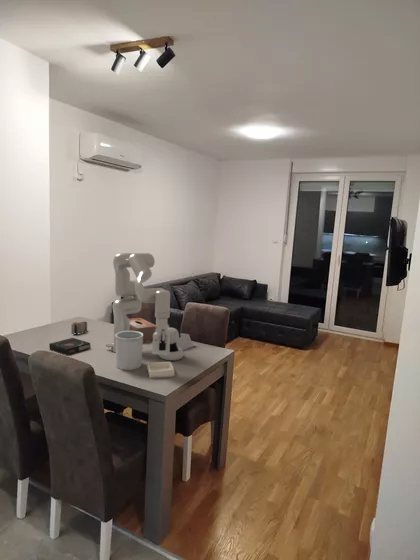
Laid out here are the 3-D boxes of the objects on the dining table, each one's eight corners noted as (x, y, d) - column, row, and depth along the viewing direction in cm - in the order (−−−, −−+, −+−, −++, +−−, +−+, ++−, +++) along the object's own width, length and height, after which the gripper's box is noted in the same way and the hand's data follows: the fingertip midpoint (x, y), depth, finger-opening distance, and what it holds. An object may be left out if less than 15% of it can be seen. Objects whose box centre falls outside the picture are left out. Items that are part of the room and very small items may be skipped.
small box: (169, 351, 195) (170, 332, 194) (167, 355, 190) (168, 335, 189) (154, 350, 196) (155, 331, 195) (152, 354, 191) (152, 334, 189)
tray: (149, 378, 187) (149, 371, 186) (146, 369, 199) (147, 362, 198) (174, 376, 190) (174, 370, 190) (170, 367, 202) (170, 361, 202)
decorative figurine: (188, 358, 219) (190, 325, 216) (168, 363, 209) (170, 329, 206) (173, 351, 229) (174, 320, 227) (153, 356, 219) (154, 323, 217)
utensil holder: (136, 371, 194) (137, 339, 192) (110, 368, 197) (110, 336, 195) (146, 362, 209) (147, 332, 206) (121, 359, 211) (122, 329, 209)
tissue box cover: (121, 333, 264) (121, 319, 262) (139, 330, 272) (140, 317, 271) (137, 343, 243) (137, 328, 242) (156, 340, 252) (157, 325, 250)
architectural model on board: (74, 336, 252) (74, 322, 251) (71, 335, 254) (71, 321, 252) (87, 332, 262) (87, 319, 261) (84, 331, 263) (84, 318, 262)
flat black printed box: (67, 356, 213) (67, 349, 213) (49, 350, 222) (49, 343, 222) (90, 349, 227) (90, 343, 226) (72, 343, 236) (72, 337, 236)
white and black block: (176, 352, 229) (173, 336, 230) (171, 352, 232) (167, 337, 233) (194, 346, 242) (190, 331, 243) (188, 347, 245) (185, 332, 246)
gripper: (153, 310, 198) (152, 343, 200) (157, 318, 181) (156, 353, 183) (167, 310, 200) (165, 342, 202) (172, 318, 183) (171, 353, 185)
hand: (161, 347), depth 193 cm, fingers closed on small box, 7 cm apart
